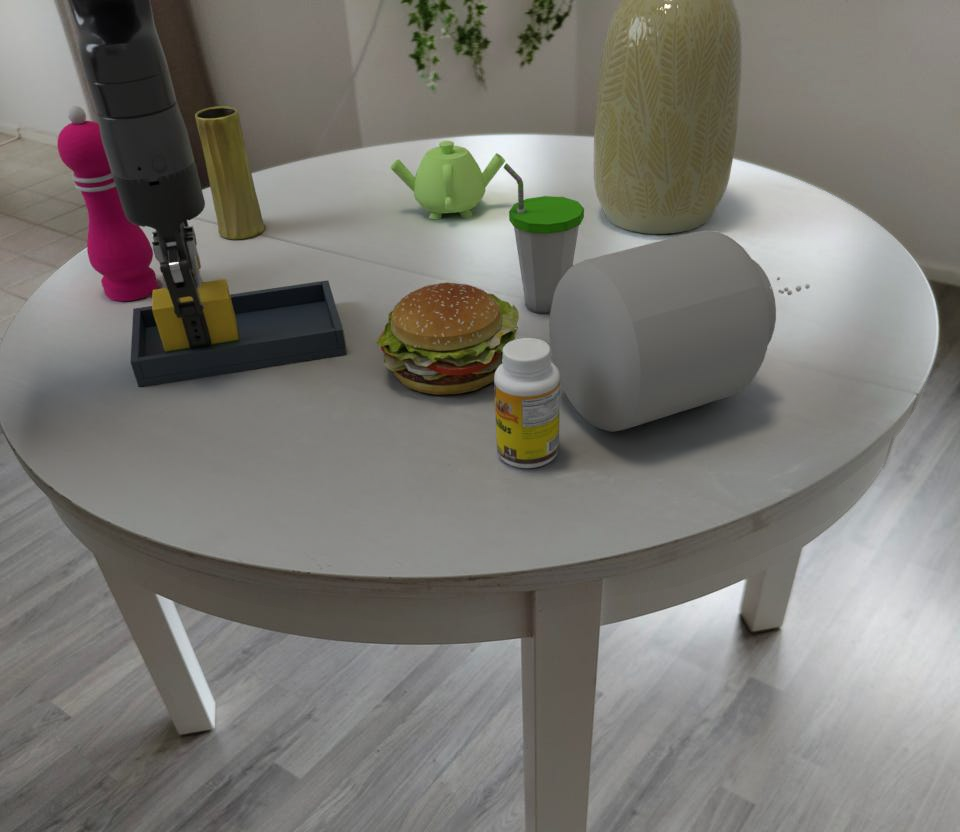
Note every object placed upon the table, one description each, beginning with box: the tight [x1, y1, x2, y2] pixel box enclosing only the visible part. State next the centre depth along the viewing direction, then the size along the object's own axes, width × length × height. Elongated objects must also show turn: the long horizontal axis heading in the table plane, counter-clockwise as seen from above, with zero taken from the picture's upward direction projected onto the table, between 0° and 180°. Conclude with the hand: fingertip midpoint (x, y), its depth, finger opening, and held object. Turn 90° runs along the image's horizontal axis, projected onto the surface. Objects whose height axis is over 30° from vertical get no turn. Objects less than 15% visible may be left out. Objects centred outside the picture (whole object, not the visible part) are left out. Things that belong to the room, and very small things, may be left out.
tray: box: [130, 279, 348, 388], centre depth 101 cm, size 22×13×3 cm, turn 104°
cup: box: [503, 162, 585, 315], centre depth 100 cm, size 8×8×15 cm
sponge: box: [151, 278, 240, 353], centre depth 97 cm, size 8×5×6 cm, turn 104°
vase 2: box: [593, 0, 743, 235], centre depth 112 cm, size 17×17×27 cm
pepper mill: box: [56, 105, 159, 302], centre depth 106 cm, size 7×7×20 cm
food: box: [375, 282, 520, 396], centre depth 93 cm, size 14×14×8 cm
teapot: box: [390, 140, 506, 220], centre depth 123 cm, size 11×12×8 cm
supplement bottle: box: [493, 337, 561, 469], centre depth 81 cm, size 6×6×10 cm
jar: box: [548, 230, 811, 432], centre depth 85 cm, size 19×15×25 cm
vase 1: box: [194, 105, 266, 240], centre depth 119 cm, size 6×6×14 cm
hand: (200, 334), depth 98 cm, fingers closed on sponge, 4 cm apart
